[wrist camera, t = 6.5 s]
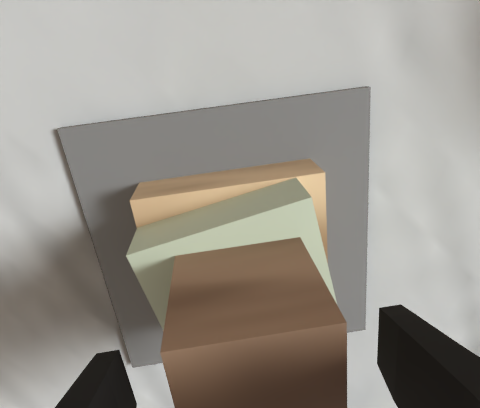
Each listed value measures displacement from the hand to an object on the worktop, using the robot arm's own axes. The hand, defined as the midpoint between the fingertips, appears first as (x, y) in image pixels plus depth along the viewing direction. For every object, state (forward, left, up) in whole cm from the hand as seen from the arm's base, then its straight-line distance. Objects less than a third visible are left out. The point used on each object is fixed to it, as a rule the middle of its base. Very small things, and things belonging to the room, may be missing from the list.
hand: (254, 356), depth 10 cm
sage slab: (0, 0, -4) cm, 4 cm away
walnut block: (0, 0, -2) cm, 2 cm away
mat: (0, 0, -7) cm, 7 cm away
